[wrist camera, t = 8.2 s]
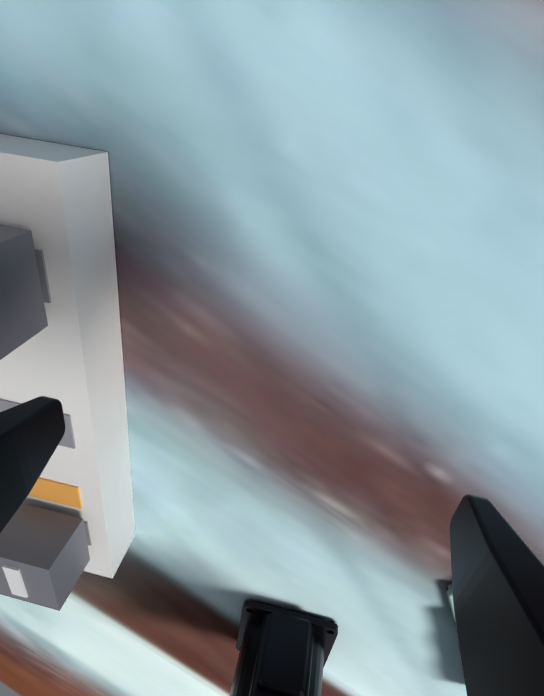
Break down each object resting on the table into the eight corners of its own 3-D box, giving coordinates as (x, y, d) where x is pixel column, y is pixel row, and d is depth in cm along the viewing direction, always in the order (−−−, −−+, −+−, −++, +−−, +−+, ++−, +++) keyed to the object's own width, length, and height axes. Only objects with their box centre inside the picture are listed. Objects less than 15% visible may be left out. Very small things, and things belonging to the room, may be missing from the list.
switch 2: (90, 559, 24) (58, 612, 21) (24, 541, 24) (-15, 592, 21) (83, 518, 22) (47, 572, 19) (11, 500, 22) (-33, 550, 20)
